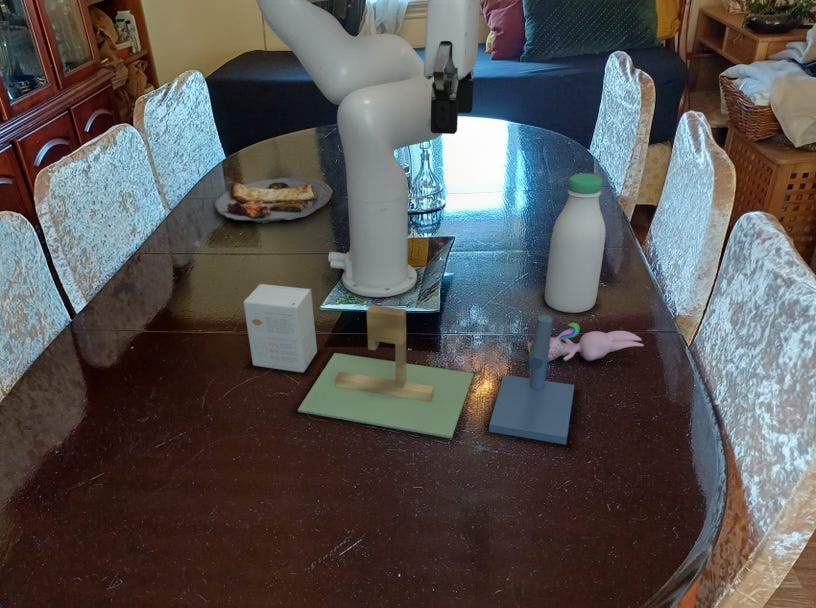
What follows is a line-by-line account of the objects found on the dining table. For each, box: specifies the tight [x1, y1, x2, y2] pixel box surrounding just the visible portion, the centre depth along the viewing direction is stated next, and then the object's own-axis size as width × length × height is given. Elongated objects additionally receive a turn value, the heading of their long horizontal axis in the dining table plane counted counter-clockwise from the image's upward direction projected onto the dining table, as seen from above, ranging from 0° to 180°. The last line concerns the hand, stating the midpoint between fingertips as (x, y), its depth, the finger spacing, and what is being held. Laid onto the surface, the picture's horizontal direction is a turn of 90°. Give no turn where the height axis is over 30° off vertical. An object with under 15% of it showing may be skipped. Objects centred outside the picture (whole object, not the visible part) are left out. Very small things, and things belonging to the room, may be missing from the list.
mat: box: [297, 352, 475, 439], centre depth 96 cm, size 20×14×1 cm
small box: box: [243, 283, 318, 373], centre depth 101 cm, size 8×6×10 cm
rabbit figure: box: [526, 322, 645, 363], centre depth 99 cm, size 6×6×15 cm
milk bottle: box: [544, 173, 606, 314], centre depth 108 cm, size 8×8×20 cm
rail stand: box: [488, 314, 575, 446], centre depth 88 cm, size 9×11×11 cm
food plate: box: [212, 176, 333, 225], centre depth 154 cm, size 25×23×4 cm
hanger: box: [335, 304, 434, 402], centre depth 92 cm, size 13×2×12 cm, turn 70°
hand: (452, 122), depth 93 cm, fingers open, 9 cm apart
